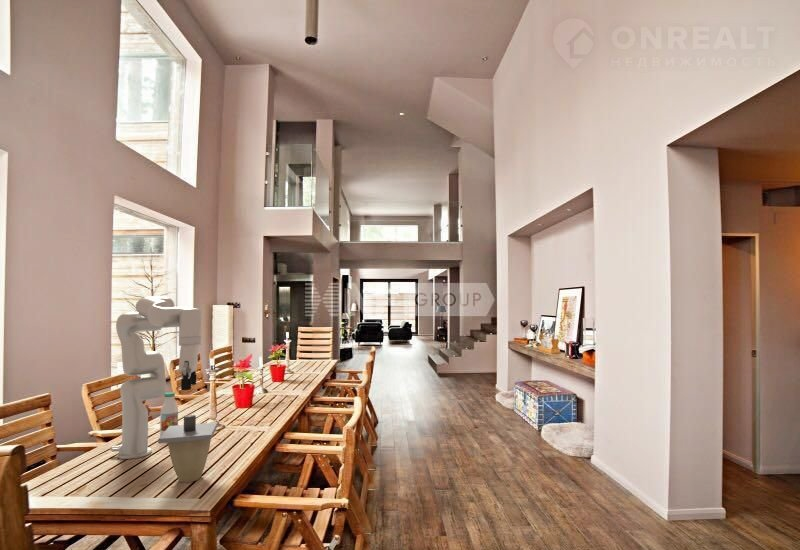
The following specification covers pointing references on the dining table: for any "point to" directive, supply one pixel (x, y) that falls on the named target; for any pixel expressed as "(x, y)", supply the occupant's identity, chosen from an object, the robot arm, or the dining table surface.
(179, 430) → the lid
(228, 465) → the dining table surface
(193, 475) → the plant pot
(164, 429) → the milk bottle
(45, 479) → the dining table surface
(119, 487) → the dining table surface
